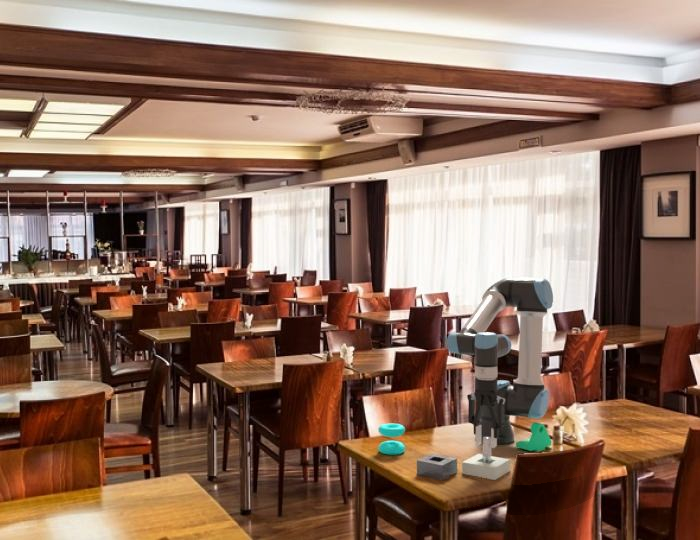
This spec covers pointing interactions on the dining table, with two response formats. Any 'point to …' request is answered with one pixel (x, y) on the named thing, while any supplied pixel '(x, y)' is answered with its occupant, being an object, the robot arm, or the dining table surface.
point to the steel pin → (486, 450)
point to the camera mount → (536, 439)
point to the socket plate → (486, 467)
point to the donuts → (391, 446)
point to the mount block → (437, 466)
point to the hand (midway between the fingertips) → (486, 445)
